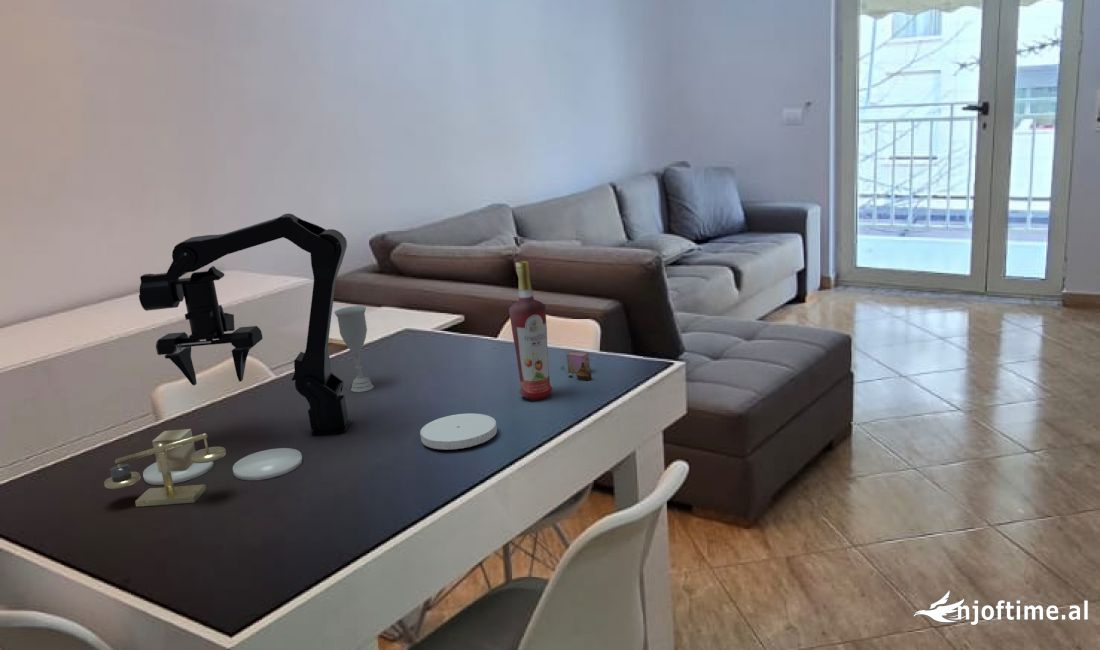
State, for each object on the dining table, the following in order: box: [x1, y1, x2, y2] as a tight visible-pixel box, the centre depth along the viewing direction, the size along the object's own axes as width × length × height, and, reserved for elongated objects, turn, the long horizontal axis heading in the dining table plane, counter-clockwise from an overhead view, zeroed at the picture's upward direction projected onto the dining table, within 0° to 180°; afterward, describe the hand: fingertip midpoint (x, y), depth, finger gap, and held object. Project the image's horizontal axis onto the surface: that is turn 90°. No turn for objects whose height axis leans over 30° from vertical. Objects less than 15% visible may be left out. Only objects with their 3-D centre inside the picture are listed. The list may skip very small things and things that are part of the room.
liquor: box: [508, 260, 554, 401], centre depth 186 cm, size 7×7×28 cm
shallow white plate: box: [232, 447, 303, 482], centre depth 167 cm, size 12×12×1 cm
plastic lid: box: [419, 413, 498, 450], centre depth 171 cm, size 14×14×2 cm
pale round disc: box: [142, 461, 215, 486], centre depth 169 cm, size 12×12×1 cm
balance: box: [103, 433, 227, 507], centre depth 156 cm, size 21×6×11 cm, turn 87°
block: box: [151, 428, 197, 472], centre depth 168 cm, size 5×5×6 cm
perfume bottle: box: [566, 350, 592, 381], centre depth 201 cm, size 12×12×4 cm
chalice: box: [333, 305, 374, 393], centre depth 205 cm, size 7×7×18 cm
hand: (217, 382), depth 179 cm, fingers open, 9 cm apart
